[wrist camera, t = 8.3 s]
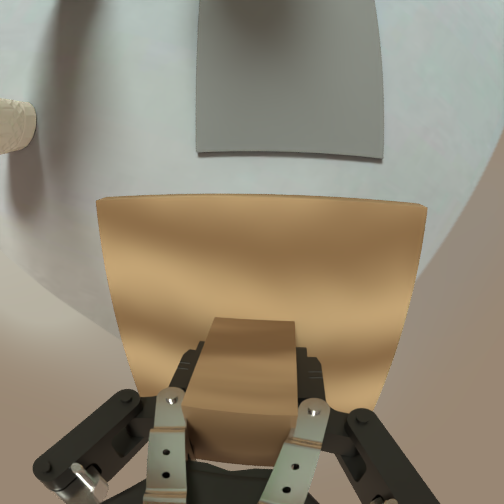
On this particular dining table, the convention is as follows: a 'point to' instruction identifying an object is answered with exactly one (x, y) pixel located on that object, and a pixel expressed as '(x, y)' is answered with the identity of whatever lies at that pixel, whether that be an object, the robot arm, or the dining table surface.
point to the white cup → (16, 125)
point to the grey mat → (289, 77)
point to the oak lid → (259, 304)
